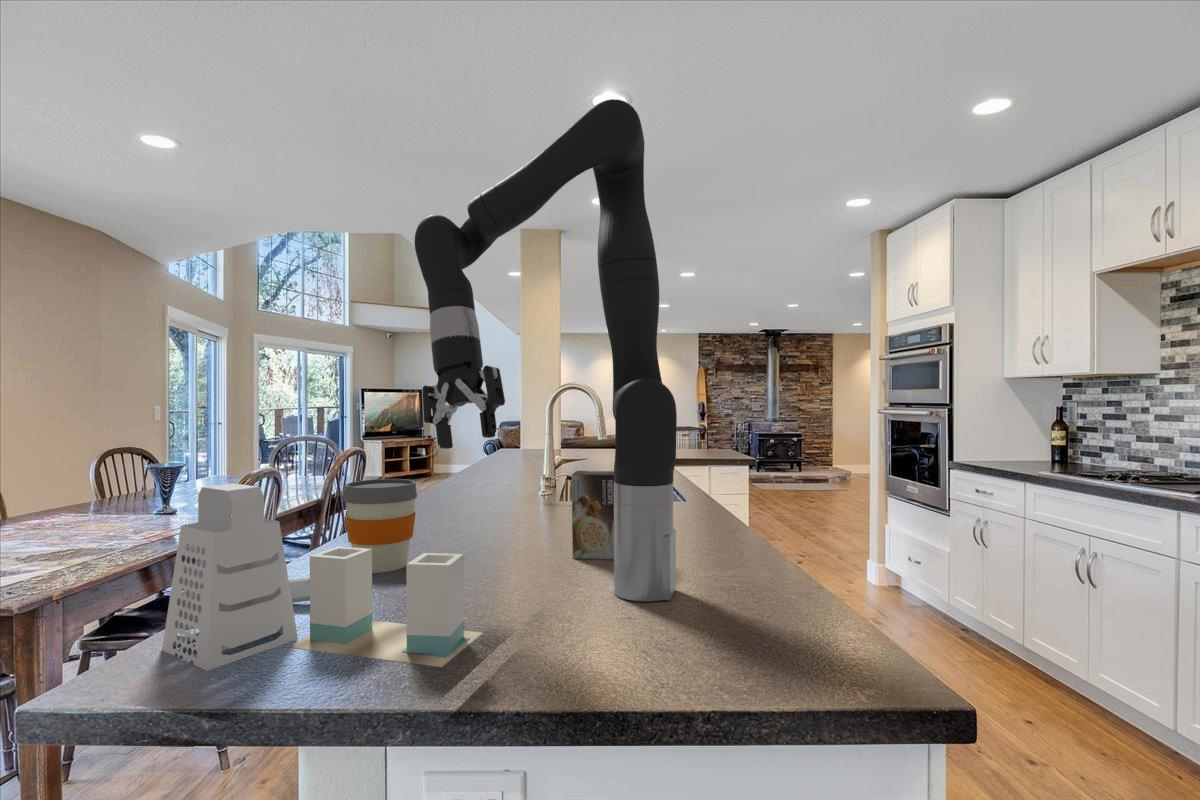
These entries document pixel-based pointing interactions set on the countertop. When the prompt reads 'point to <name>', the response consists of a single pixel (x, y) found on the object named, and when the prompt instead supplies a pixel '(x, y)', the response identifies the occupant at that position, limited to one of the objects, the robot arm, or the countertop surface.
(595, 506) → the coffee box
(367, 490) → the reusable coffee cup
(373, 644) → the pin board
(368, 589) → the seated sleeve
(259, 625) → the grater
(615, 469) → the robot arm
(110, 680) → the countertop surface
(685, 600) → the countertop surface
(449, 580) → the sleeve
